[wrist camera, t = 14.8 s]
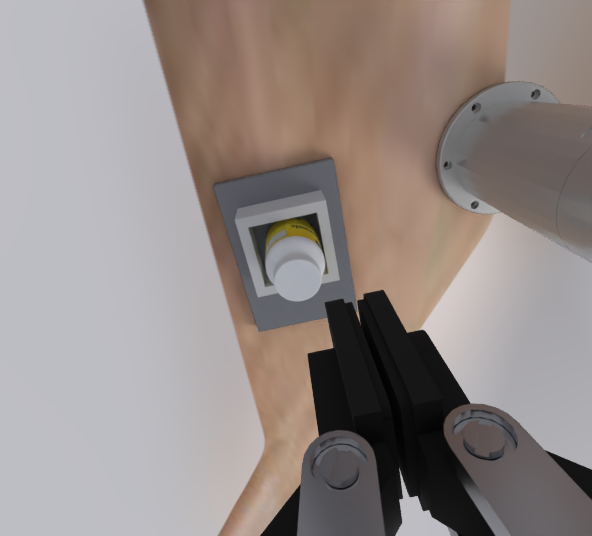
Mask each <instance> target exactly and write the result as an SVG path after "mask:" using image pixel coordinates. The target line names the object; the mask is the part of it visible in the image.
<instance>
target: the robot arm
mask: <svg viewBox="0 0 592 536" xmlns="http://www.w3.org/2000/svg"><path fill="white" fill-rule="evenodd" d="M531 93H532V95H531ZM473 105H474V108H473V110H472V106H473ZM445 162H446V165H445V166H444V163H445ZM436 169H437V174H438V180H439V182H440V184H441V187H442V189H443V191H444V192H445V193H446V195H447V196H448V198H450V199H451V200H452V201H453V202H454V203H455V204H457V205H458V206H460V207H462V208H463V209H465V210H468V211H470V212H473V213H479V214H496V213H500V212H502V213H504V214H506V215H508V216H509V217H511V218H513V219H515V220H516V221H518V222H520V223H522V224H523V225H525V226H527V227H529V228H530V229H532V230H534V231H536V232H537V233H539V234H541V235H543V236H544V237H546V238H548V239H550V240H551V241H553V242H555V243H557V244H559V245H560V246H562V247H564V248H565V249H567V250H569V251H571V252H573V253H574V254H576V255H578V256H580V257H582V258H584V259H585V260H587V261H589V262H591V263H592V106H581V105H569V104H560V102H559V100H558V99H557V98H556V97H555V96H554V95H553V93H551V92H550V91H549V90H547V89H545V88H544V87H542V86H540V85H537V84H534V83H531V82H520V81H518V82H505V83H500V84H496V85H493V86H491V87H489V88H486V89H484V90H482V91H480V92H479V93H477V94H476V95H474V96H473V97H471V98H470V99H469V100H468V101H467V102H466V103H464V104H463V105H462V106H461V107H460V108H459V109H458V111H457V112H456V113H455V114H454V116H453V117H452V118H451V119H450V121H449V123H448V125H447V126H446V128H445V130H444V132H443V135H442V137H441V140H440V143H439V146H438V151H437V160H436ZM472 202H473V203H472ZM471 203H472V204H471ZM324 303H325V308H326V313H327V318H328V323H329V328H330V333H331V337H332V342H333V347H334V348H332V349H327V350H322V351H317V352H313V353H308V362H309V369H310V376H311V383H312V390H313V397H314V404H315V411H316V419H317V426H318V433H319V437H318V438H316V439H315V440H314V441H313V442H312V443H311V444H310V445H309V447H308V449H307V450H306V452H305V454H304V458H303V463H302V474H301V484H300V485H299V487H298V488H297V489H296V491H295V492H294V493H293V494H292V496H291V497H290V498H289V499H288V501H287V502H286V503H285V505H284V506H283V507H282V508H281V510H280V511H279V512H278V514H277V515H276V516H275V517H274V519H273V520H272V521H271V523H270V524H269V525H268V526H267V528H266V529H265V530H264V532H263V533H262V534H261V535H260V536H395V535H396V533H397V531H398V529H399V527H400V525H401V524H402V517H401V510H400V502H399V499H402V498H403V495H402V487H401V479H400V471H401V474H402V477H403V480H404V483H405V486H406V489H407V492H408V494H409V496H410V497H414V496H418V498H419V501H420V504H421V506H422V509H423V511H426V510H429V511H430V513H431V516H432V517H433V518H435V519H436V520H438V521H439V522H441V523H443V524H444V525H446V526H447V527H448V529H449V532H450V535H451V536H592V470H591V469H589V468H586V467H584V466H581V465H579V464H577V463H574V462H572V461H570V460H567V459H564V458H562V457H560V456H558V455H555V454H553V453H550V452H548V451H546V450H544V449H543V448H542V447H541V446H540V445H539V444H538V443H537V442H536V441H535V440H534V439H533V438H532V436H530V434H529V433H528V432H527V431H526V430H525V429H524V428H523V427H522V426H521V425H520V424H519V423H518V422H517V421H516V420H515V419H514V418H512V417H511V416H510V415H509V414H508V413H506V412H504V411H502V410H500V409H498V408H496V407H492V406H488V405H485V404H471V403H470V402H469V400H468V398H467V397H466V395H465V394H464V392H463V390H462V389H461V387H460V386H459V384H458V382H457V381H456V379H455V378H454V376H453V374H452V373H451V371H450V370H449V368H448V366H447V365H446V363H445V362H444V360H443V358H442V357H441V355H440V354H439V352H438V350H437V349H436V347H435V346H434V344H433V342H432V341H431V339H430V338H429V336H428V335H427V333H426V332H425V331H424V330H419V331H414V332H409V333H407V332H406V330H405V328H404V327H403V325H402V323H401V321H400V319H399V317H398V316H397V314H396V312H395V310H394V308H393V306H392V305H391V303H390V301H389V299H388V297H387V295H386V294H385V292H384V290H380V291H375V292H371V293H366V294H364V299H362V300H358V301H357V303H358V310H359V316H360V322H359V319H358V317H357V314H356V311H355V309H354V306H353V303H352V302H348V303H345V302H344V299H343V298H342V299H338V300H333V301H328V302H324ZM360 323H361V325H360ZM399 468H400V471H399Z"/></svg>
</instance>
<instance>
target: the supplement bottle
mask: <svg viewBox="0 0 592 536" xmlns="http://www.w3.org/2000/svg"><path fill="white" fill-rule="evenodd" d="M265 267H266V273H267V275H268V278H269V279H270V281H271V282H272V283H273V284H274V286H275V288H276V290H277V292H278V293H279V294H280V295H281V296H282V297H283V298H285V299H287V300H290V301H304V300H307V299H309V298H311V297H312V296H314V295H315V294H316V293H317V292H318V290H319V288H320V286H321V282H322V276H323V273H324V270H325V259H324V254H323V251H322V248H321V245H320V242H319V239H318V236H317V233H316V230H315V228H314V226H313V225H312V224H311V222H309V221H308V220H307V219H306V218H304V217H302V216H299V217H294V218H290V219H285V220H281V221H276V222H273V223H272V224H271V225H270V227H269V229H268V231H267V234H266V253H265Z"/></svg>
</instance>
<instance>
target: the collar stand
mask: <svg viewBox="0 0 592 536" xmlns="http://www.w3.org/2000/svg"><path fill="white" fill-rule="evenodd" d="M213 188H214V191H215V194H216V197H217V200H218V203H219V207H220V210H221V213H222V216H223V219H224V223H225V226H226V229H227V232H228V235H229V239H230V242H231V245H232V248H233V251H234V255H235V258H236V261H237V264H238V267H239V270H240V274H241V277H242V280H243V283H244V286H245V290H246V293H247V296H248V299H249V302H250V306H251V309H252V312H253V315H254V318H255V321H256V325H257V328H258V331H259V332H260V331H265V330H270V329H275V328H279V327H284V326H289V325H294V324H299V323H303V322H308V321H313V320H318V319H322V318H327V313H326V308H325V303H324V302H328V301H333V300H338V299H342V298H343V299H344V302H345V303H348V302H352V303H353V306H354V309H355V311H357V306H356V299H355V293H354V287H353V280H352V274H351V267H350V261H349V255H348V248H347V242H346V236H345V229H344V223H343V216H342V210H341V204H340V197H339V191H338V185H337V178H336V172H335V165H334V159H333V158H332V157H331V158H326V159H322V160H317V161H313V162H309V163H304V164H300V165H295V166H291V167H286V168H282V169H277V170H273V171H268V172H264V173H260V174H255V175H251V176H246V177H242V178H237V179H233V180H228V181H224V182H219V183H215V184H214V185H213ZM299 216H302V217H304V218H306V219H307V220H308V221H309V222H311V224H312V225H313V226H314V228H315V230H316V233H317V236H318V239H319V242H320V245H321V248H322V251H323V254H324V259H325V270H324V273H323V276H322V282H321V286H320V288H319V290H318V292H317V293H316V294H315V295H314V296H312V297H311V298H309V299H307V300H304V301H290V300H287V299H285V298H283V297H282V296H281V295H280V294H279V293H278V292H277V290H276V288H275V286H274V284H273V283H272V282H271V281H270V279H269V278H268V275H267V273H266V267H265V253H266V234H267V231H268V229H269V227H270V225H271V224H272V223H273V222H276V221H281V220H285V219H290V218H294V217H299Z"/></svg>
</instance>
